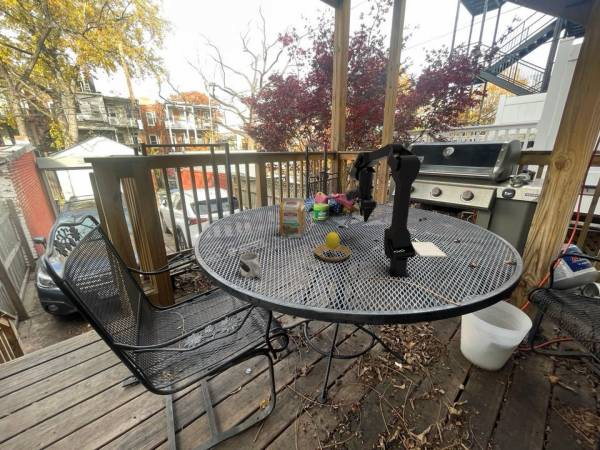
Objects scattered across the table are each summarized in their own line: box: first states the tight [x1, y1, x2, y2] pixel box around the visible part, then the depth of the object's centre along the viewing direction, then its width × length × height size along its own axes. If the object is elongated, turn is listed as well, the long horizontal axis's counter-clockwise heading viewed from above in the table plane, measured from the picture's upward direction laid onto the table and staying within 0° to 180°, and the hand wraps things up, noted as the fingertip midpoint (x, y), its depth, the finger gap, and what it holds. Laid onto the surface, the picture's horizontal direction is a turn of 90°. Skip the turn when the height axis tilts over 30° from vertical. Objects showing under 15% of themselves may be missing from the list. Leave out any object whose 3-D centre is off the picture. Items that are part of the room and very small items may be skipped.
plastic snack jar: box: [278, 197, 307, 239], centre depth 125 cm, size 11×11×19 cm
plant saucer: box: [314, 243, 352, 262], centre depth 104 cm, size 15×15×3 cm
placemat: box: [411, 241, 448, 258], centre depth 107 cm, size 14×10×1 cm
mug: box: [239, 252, 263, 279], centre depth 89 cm, size 10×7×7 cm, turn 45°
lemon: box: [325, 231, 341, 251], centre depth 102 cm, size 6×6×8 cm
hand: (363, 218), depth 111 cm, fingers open, 9 cm apart
